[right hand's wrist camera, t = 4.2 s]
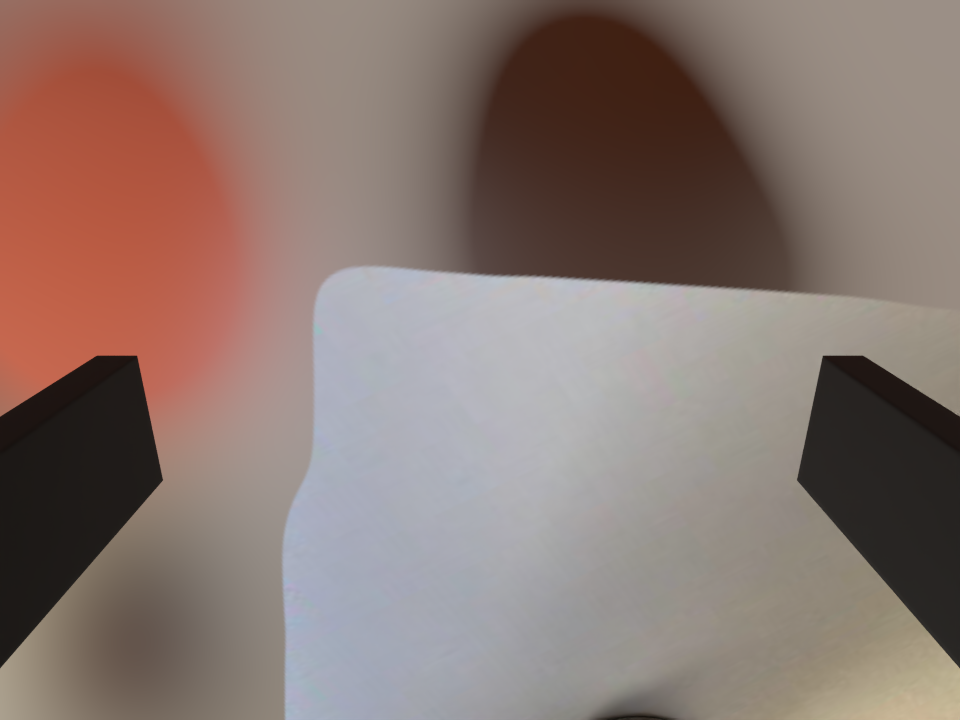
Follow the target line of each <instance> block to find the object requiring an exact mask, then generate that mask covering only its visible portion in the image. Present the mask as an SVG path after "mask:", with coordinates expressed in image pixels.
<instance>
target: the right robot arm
mask: <svg viewBox="0 0 960 720" xmlns="http://www.w3.org/2000/svg"><path fill="white" fill-rule="evenodd" d="M162 481H163V479H162V474H161V469H160V464H159V459H158V454H157V450H156V445H155V440H154V435H153V430H152V426H151V421H150V416H149V411H148V406H147V401H146V397H145V392H144V387H143V382H142V377H141V373H140V368H139V363H138V358H137V356H96V357H94V358H93V359H91V360H89V361H88V362H86V363H85V364H83V365H82V366H80V367H78V368H77V369H75V370H74V371H72V372H70V373H69V374H67V375H66V376H64V377H62V378H61V379H59V380H58V381H56V382H55V383H53V384H52V385H50V386H48V387H47V388H45V389H43V390H42V391H40V392H39V393H37V394H36V395H34V396H32V397H31V398H29V399H28V400H26V401H24V402H23V403H21V404H20V405H18V406H16V407H15V408H13V409H12V410H10V411H9V412H7V413H5V414H4V415H2V416H1V417H0V668H1V667H2V665H3V664H4V663H5V662H6V661H7V660H8V659H9V657H10V656H11V655H12V654H13V653H14V652H15V650H16V649H17V648H18V647H19V646H20V645H21V644H22V642H23V641H24V640H25V639H26V638H27V637H28V635H29V634H30V633H31V632H32V631H33V630H34V629H35V627H36V626H37V625H38V624H39V623H40V622H41V620H42V619H43V618H44V617H45V616H46V615H47V614H48V612H49V611H50V610H51V609H52V608H53V607H54V605H55V604H56V603H57V602H58V601H59V600H60V599H61V597H62V596H63V595H64V594H65V593H66V592H67V590H68V589H69V588H70V587H71V586H72V585H73V584H74V582H75V581H76V580H77V579H78V578H79V577H80V575H81V574H82V573H83V572H84V571H85V570H86V569H87V567H88V566H89V565H90V564H91V563H92V562H93V560H94V559H95V558H96V557H97V556H98V555H99V554H100V552H101V551H102V550H103V549H104V548H105V547H106V545H107V544H108V543H109V542H110V541H111V540H112V538H113V537H114V536H115V535H116V534H117V533H118V532H119V530H120V529H121V528H122V527H123V526H124V525H125V524H126V522H127V521H128V520H129V519H130V518H131V517H132V515H133V514H134V513H135V512H136V511H137V510H138V508H139V507H140V506H141V505H142V504H143V503H144V502H145V500H146V499H147V498H148V497H149V496H150V495H151V493H152V492H153V491H154V490H155V489H156V488H157V487H158V485H159V484H160V483H161V482H162ZM797 481H798V482H799V483H800V484H801V485H802V487H803V488H804V489H805V490H806V491H807V492H808V493H809V495H810V496H811V497H812V498H813V499H814V500H815V502H816V503H817V504H818V505H819V506H820V507H821V509H822V510H823V511H824V512H825V513H826V514H827V515H828V517H829V518H830V519H831V520H832V521H833V522H834V524H835V525H836V526H837V527H838V528H839V529H840V530H841V532H842V533H843V534H844V535H845V536H846V537H847V539H848V540H849V541H850V542H851V543H852V544H853V545H854V547H855V548H856V549H857V550H858V551H859V552H860V554H861V555H862V556H863V557H864V558H865V559H866V560H867V562H868V563H869V564H870V565H871V566H872V567H873V569H874V570H875V571H876V572H877V573H878V574H879V575H880V577H881V578H882V579H883V580H884V581H885V582H886V584H887V585H888V586H889V587H890V588H891V589H892V590H893V592H894V593H895V594H896V595H897V596H898V597H899V599H900V600H901V601H902V602H903V603H904V604H905V605H906V607H907V608H908V609H909V610H910V611H911V612H912V614H913V615H914V616H915V617H916V618H917V619H918V620H919V622H920V623H921V624H922V625H923V626H924V627H925V629H926V630H927V631H928V632H929V633H930V634H931V635H932V637H933V638H934V639H935V640H936V641H937V642H938V644H939V645H940V646H941V647H942V648H943V649H944V650H945V652H946V653H947V654H948V655H949V656H950V657H951V659H952V660H953V661H954V662H955V663H956V664H957V665H958V667H959V668H960V417H959V416H958V415H956V414H955V413H953V412H951V411H950V410H948V409H947V408H945V407H944V406H942V405H940V404H939V403H937V402H936V401H934V400H932V399H931V398H929V397H928V396H926V395H924V394H923V393H921V392H920V391H918V390H917V389H915V388H913V387H912V386H910V385H909V384H907V383H905V382H904V381H902V380H901V379H899V378H898V377H896V376H894V375H893V374H891V373H890V372H888V371H886V370H885V369H883V368H882V367H880V366H878V365H877V364H875V363H874V362H872V361H871V360H869V359H867V358H866V357H864V356H823V358H822V363H821V368H820V373H819V377H818V382H817V387H816V392H815V397H814V401H813V406H812V411H811V416H810V421H809V425H808V430H807V435H806V440H805V445H804V450H803V454H802V459H801V464H800V469H799V474H798V478H797ZM616 720H662V719H656V718H646V717H632V718H621V719H616Z"/></svg>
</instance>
